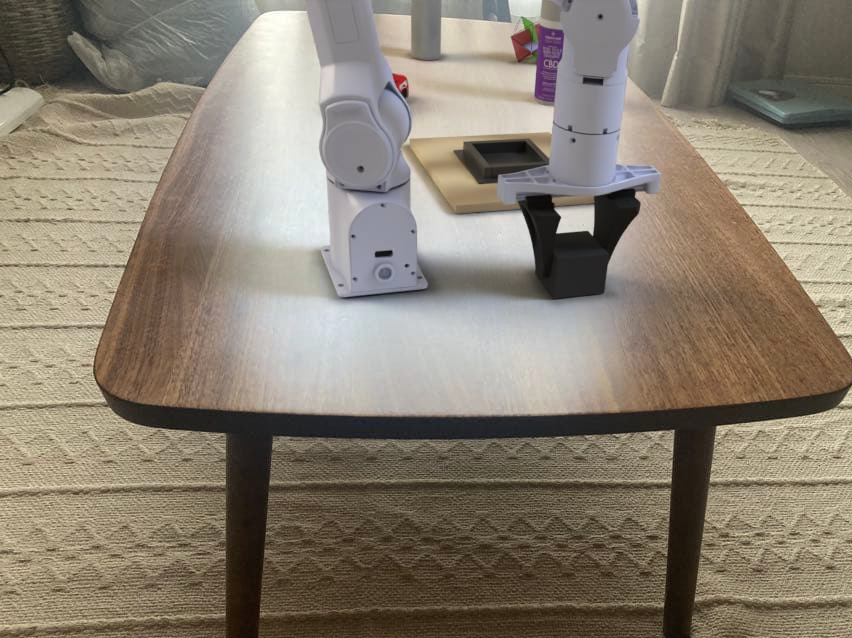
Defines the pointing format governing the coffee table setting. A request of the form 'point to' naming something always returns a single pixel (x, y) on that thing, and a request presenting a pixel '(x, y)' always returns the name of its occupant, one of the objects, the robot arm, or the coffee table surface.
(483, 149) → the pad base
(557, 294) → the black cube
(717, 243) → the coffee table surface
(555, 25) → the container
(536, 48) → the geometric puzzle
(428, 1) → the grey upright cylinder
